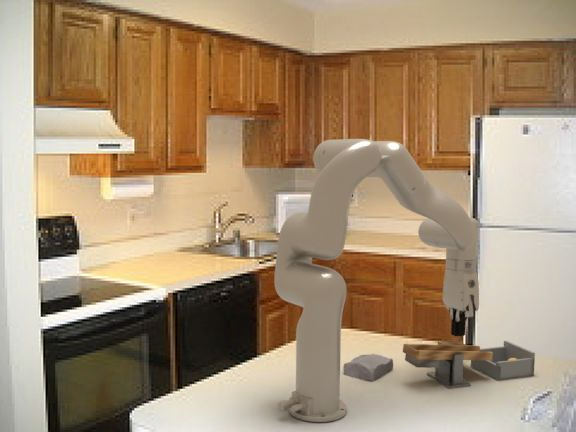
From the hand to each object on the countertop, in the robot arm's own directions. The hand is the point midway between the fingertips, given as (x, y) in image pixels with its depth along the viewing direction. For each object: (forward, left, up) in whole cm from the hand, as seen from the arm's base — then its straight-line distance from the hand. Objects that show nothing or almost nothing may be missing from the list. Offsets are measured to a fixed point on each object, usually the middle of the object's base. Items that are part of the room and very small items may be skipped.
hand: (458, 335), depth 163 cm
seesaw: (-8, 0, -5) cm, 9 cm away
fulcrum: (-9, -4, -9) cm, 13 cm away
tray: (+8, -8, -9) cm, 14 cm away
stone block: (-20, +13, -10) cm, 26 cm away
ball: (+10, -10, -7) cm, 16 cm away
